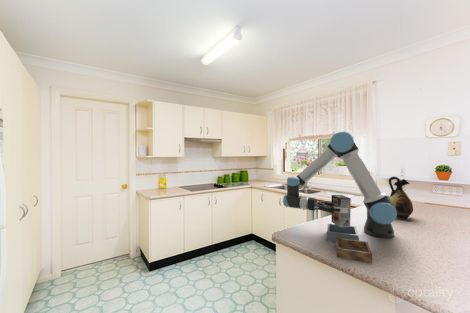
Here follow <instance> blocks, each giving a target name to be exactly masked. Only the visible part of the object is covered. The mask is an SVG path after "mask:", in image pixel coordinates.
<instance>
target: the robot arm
mask: <svg viewBox="0 0 470 313" xmlns="http://www.w3.org/2000/svg"><path fill="white" fill-rule="evenodd" d="M359 150H360V148H359V146H358V145H357V143H356V140H355V138H354V136H353V135H352V134H351V132H349V131H346V130H345V131H343V130H342V131H338V132H336V133H333V135H332V136H331V138H330V142H329V144H328V145H326V149H324V150H323V152H321V154H319V155H318V156H317V157H316V158H315V159H314V160H313V161H312V162H311V163H310V164H308V165H307V166H306V167H305V168H304V169H303V170H302V171H301V172H300V173H299V174H297V175H296V176H288V177H287V178H286V191H287V192H286V194H285V195H284V196H283V197H282V198H283V199H282V203H283V206H285V208H290V209H291V208H292V209H300V210H303V211H305V210H308V211H311V212H312V211H313V212H314V211H316V210H317V211H322V212H327V213H330V214H332V213H334V212H339V213H346V214H348V208H341V207H332V201H327V200H326V201H324V200H319V201H317V199H316V198H315V197H308V196H300V189H302V188H303V187H304V186H305V185H306V184H307V183H308V182H309V181H310V180H312V178H314V177H315V176H316V175H317V174H318V173H319V172H320V171H322V170H323V169H324V168H325V167H326V166H327V165H329V163H331V162H332V160H334V159H335V158H338V159H340V160H342V161H343V162H344V165H345V167H346V169H348V172H349V173H350V175H351V177H352V179H353V180H354V182H355V184H356V186H357V188H358V189H359V191H360V193H361V194H362V196H363V201H362V202H363V204H364V206H365V208H366V220H365V222H364V223H365V224H364V226H363V232H364V233H366V235H370V236H372V237H376V238H384V239H385V238H388V239H389V238H394V237H395V230H394V227H393V225H392V223H393V222H394V221H395V220H396V219H397V218H396V216H397V212H396V209H395V208H394V207H393V206H392V204H391V202H390V201H391V199H390V195H387V194H386V193H384V192H382V191H381V190H380V189H379V188H380V187H379V186H378V184H377V183H376V181H375V180H374V178H373V176H372V175H371V173H370V171H369V169H368V167H367V166H366V164H365V162H364V160H363V159H362V158H361V156H360V154H359Z"/></svg>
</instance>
